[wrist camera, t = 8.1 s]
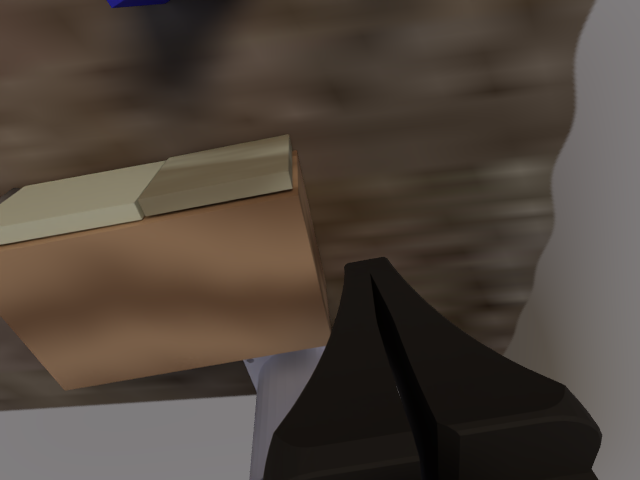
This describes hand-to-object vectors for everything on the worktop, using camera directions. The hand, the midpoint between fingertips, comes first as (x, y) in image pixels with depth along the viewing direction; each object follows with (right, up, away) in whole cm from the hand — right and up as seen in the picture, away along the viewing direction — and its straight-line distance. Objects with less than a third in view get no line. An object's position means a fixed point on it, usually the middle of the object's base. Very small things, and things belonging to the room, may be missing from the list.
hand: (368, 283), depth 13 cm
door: (-14, +5, +8) cm, 16 cm away
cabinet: (-9, +1, +10) cm, 14 cm away
